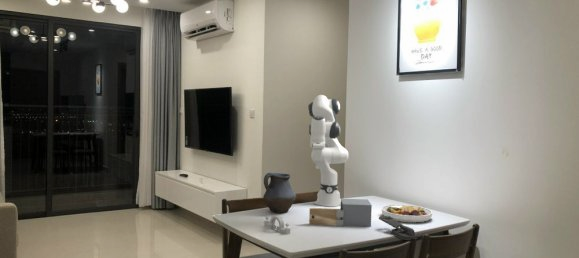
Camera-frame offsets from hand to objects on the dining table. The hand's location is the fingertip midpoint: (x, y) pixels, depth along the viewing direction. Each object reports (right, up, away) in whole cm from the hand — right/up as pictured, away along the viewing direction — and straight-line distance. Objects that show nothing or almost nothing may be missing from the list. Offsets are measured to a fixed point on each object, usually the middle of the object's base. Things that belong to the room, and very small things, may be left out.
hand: (316, 167), depth 271 cm
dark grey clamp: (+41, -33, -27) cm, 59 cm away
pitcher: (-23, -29, +16) cm, 41 cm away
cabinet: (+20, -31, -6) cm, 38 cm away
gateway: (-23, -32, -26) cm, 47 cm away
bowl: (+55, -32, +10) cm, 65 cm away
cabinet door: (+4, -31, -13) cm, 34 cm away
